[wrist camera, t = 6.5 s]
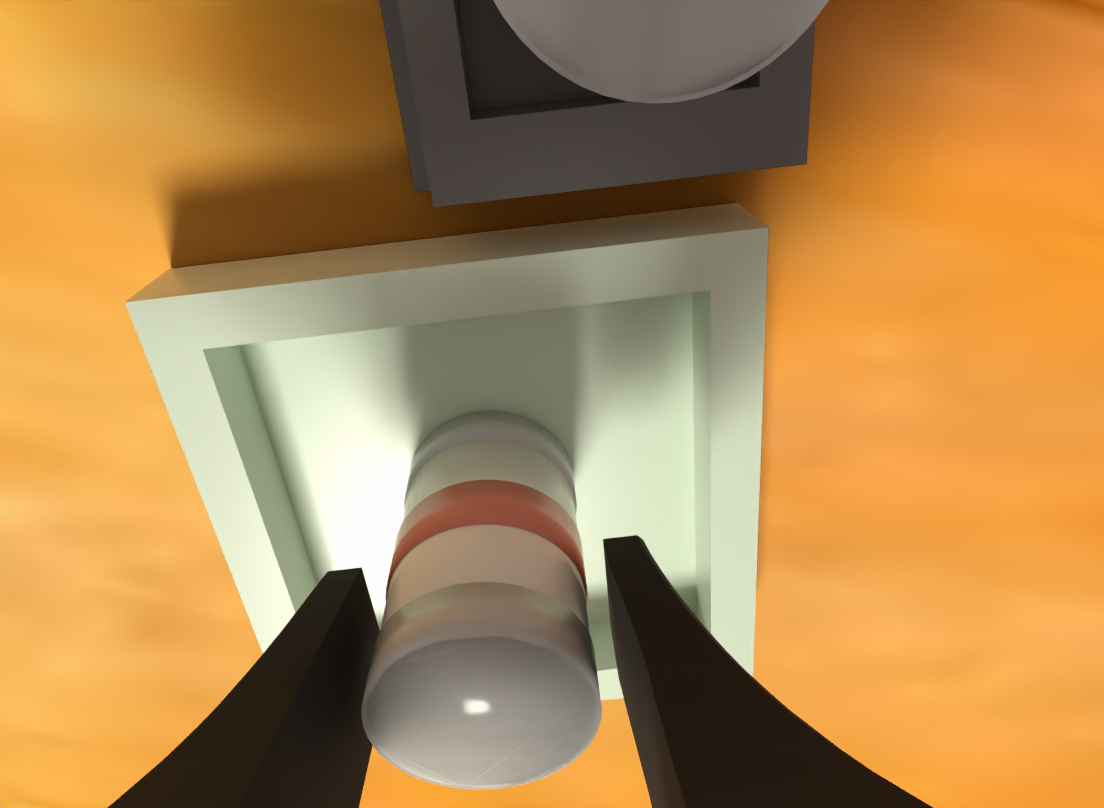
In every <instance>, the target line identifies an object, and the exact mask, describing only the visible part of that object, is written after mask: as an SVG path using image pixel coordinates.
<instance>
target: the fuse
mask: <svg viewBox="0 0 1104 808" xmlns="http://www.w3.org/2000/svg"><path fill="white" fill-rule="evenodd" d="M493 1H494V2H495V4H496V6H497V7H498V9H499V11H500V13H501V14H502V16H503V17H504V19H505V20H506V21H507V23H508V24H509V25H510V27H511V28H512V29H513V31H514V32H515V33H516V34H517V36H518V37H519V38H520V39H521V40H522V42H523V43H524V44H525V45H526V46H527V47H528V48H529V49H530V50H531V51H532V52H533V53H534V54H535V55H536V56H537V57H538V58H539V59H541V60H542V61H543V62H545V63H546V64H547V65H548V66H550V67H551V68H552V69H554V70H555V71H556V72H557V73H559V74H560V75H562V76H564V77H566V78H567V79H569V80H571V81H573V82H574V83H576V84H578V85H579V86H581V87H584V88H586V89H589V90H591V91H594V92H596V93H599V94H601V95H604V96H608V97H612V98H616V99H620V100H624V101H630V102H640V103H650V104H654V103H675V102H681V101H686V100H692V99H697V98H701V97H704V96H707V95H710V94H713V93H716V92H719V91H722V90H725V89H727V88H729V87H731V86H733V85H735V84H737V83H739V82H741V81H743V80H745V79H747V78H749V77H750V76H752V75H753V74H755V73H756V72H758V71H760V70H761V69H763V68H764V67H766V66H767V65H769V64H770V63H771V62H772V61H774V60H775V59H776V58H777V57H778V56H780V55H781V54H782V53H783V52H784V51H786V50H787V49H788V48H789V47H790V46H791V45H792V44H793V43H794V42H795V41H796V40H797V39H798V38H799V37H800V36H801V35H802V34H803V33H804V32H805V31H806V30H807V28H808V27H809V26H810V25H811V24H812V22H813V21H814V20H815V19H816V17H817V16H818V15H819V13H820V12H821V11H822V9H823V8H824V7H825V5H826V4H827V3H828V1H829V0H493Z"/></svg>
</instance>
